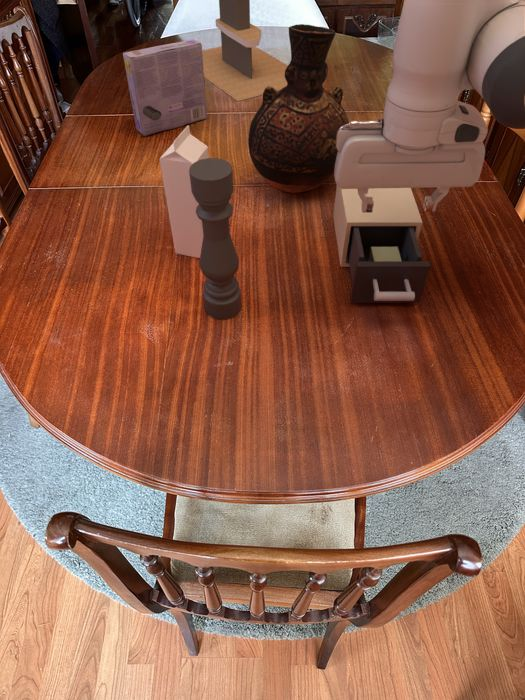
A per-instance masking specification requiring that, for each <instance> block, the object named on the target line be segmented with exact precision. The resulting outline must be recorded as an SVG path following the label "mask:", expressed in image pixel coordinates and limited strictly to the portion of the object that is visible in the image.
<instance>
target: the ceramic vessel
mask: <svg viewBox="0 0 525 700" xmlns="http://www.w3.org/2000/svg"><path fill="white" fill-rule="evenodd" d="M335 36H336V31H335V30H334V29H333V28H327V27H324V26H316V25H311V24H304V23H303V24H302V23H300V24H294V25H290V26H289V27H288V38H289V44H290V61H289V64H287V65H288V66H287V68H286V70H285V79H286V81H287V86H286V87H284V88H282V89H281V90H278V91H277V90H275V89H274V88H273V87H271V86H268V87H266V88H265V89H264V92H263V95H262V101H261V102H262V103H261V106H260V107H259V108H258V109H257V111H256V112H255V114H254V116H253V118H252V119H251V121H250V125H249V130H248V138H247V139H248V141H247V142H248V152H249V156H250V159H251V161H252V164H253V166H254V168H255V170H256V171H257V172H258V174H259V175H260V176H261V177H262V179H263V180H265V182H266V183H268V184H269V185H271V186H272V187H274V188H275V189H278V190H280V191H283V192H286V193H293V194H297V193H305V192H309V191H312V190H315V189H316V188H318V187H319V186H321V185H323V184H325V182H327V181H328V180H329V179H331V178H332V177H333V176H334V169H335V162H336V157H337V153H338V151H337V149H336V145H335V144H336V134H337V132H338V130H339V129H340V127H342V126H343V125H345V124H348V123H349V121H350V120H349V117H348V116H347V113H346V111H345V109H344V108H343V106H342V101H343V96H344V89H343V88H342V87H339V86H338V87H337V86H335V87H333V88H330V89H326V88H324V87H323V84H324V83H325V81H326V79H327V77H328V72H329V71H328V70H329V66H328V63H327V62H326V60H327V58H328V55H329V51H330V48H331V46H332V43H333V41H334V39H335ZM346 128H348V127H346Z"/></svg>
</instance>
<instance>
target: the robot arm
mask: <svg viewBox="0 0 525 700" xmlns="http://www.w3.org/2000/svg"><path fill="white" fill-rule="evenodd" d="M392 52H393V53H392V67H393V71H392V77H391V80H390V83H389V85H388V87H387V90H386V94H385V95H386V96H385V101H384V108H383V113H382V119H369V120H358V119H354V120H353V119H352V120H349V123H348V124H345V125H343V126H342V127H340V129H339V130H338V132H337V134H336V144H335V145H336V149H337V151H338V153H337V157H336V162H335V169H334V174H333V176H334V181H335V184H336V186H337V185H338V186H339V187H340V188H341V189H357V190H358V195H359V196H360V198H361V200H362V205H361V209H362V213H369V212H372V211H373V209H372V208H373V205H374V202H373V198H372V197H367V196H366V194H368V189H369V188H411V189H418V188H419V189H427V188H429V189H431V188H436V189H435V190H434V191H433V193H431V195H425V196H424V202H423V205H422V208H423V209H424V210H423V211H424V212H429V213H430V212H436V210H437V206H438V204H439V203H440V202H441V201H442V200H443V199H444V198H445V197H446V196H447V195H448V194H449V193H450V188H470V187H472V186H473V185H475V184H476V183H477V182H478V181H479V179H480V177H481V174H482V170H483V167H484V163H485V156H486V147H485V144H484V140H485V139H486V137H487V135H488V132H489V128H488V125H487V123H486V121H485V119H484V117H483V115H482V114H481V113H480V111H479V110H478V109H477V108H476V107H475V106H474V105H472V104H470V103H467V102H463V101H460V100H458V99H459V96H460V95H461V93H462V92H463V91H466V90H474V91H475V92H476V93H478V95H479V96H480V97H481V98H482V99H483V102H484V103H485V105H486V106H487V108H488V110H489V111H490V113H491V114H492V116H493V117H494V119H495V120H496V122H497V123H498V124H500V125H501V126H503V127H506V128H509V129H512V130H525V0H404V3H403V6H402V9H401V13H400V16H399V22H398V26H397V30H396V35H395V40H394V46H393V51H392ZM346 127H348V128H346Z"/></svg>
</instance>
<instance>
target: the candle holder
mask: <svg viewBox="0 0 525 700" xmlns="http://www.w3.org/2000/svg"><path fill="white" fill-rule="evenodd" d="M233 170H234V169H233V165H232V164H231V163H230V162H229V161H228V160H226V159H223V158H218V157H209V158H207V159H201V160H199V161H197V162H194V163H193V164H192V165H191V166H190V169H189V175H190V183H191V191H192V194H193V196H194V198H195V199H196V201H197V202H198V204H199V205H198V206H197V207H196V214H197V216H198V218H199V219H200V220H202V227H203V242H202V249H201V255H200V258H199V261H198V265H199V266H198V267H199V269H200V270H201V273H202V275H203V276H204V277H205V278H206V279H205V281H204V282H203V290H202V298H203V306H204V310H205V313H206V315H208V317H210V318H212V319H214V320H215V319H216V320H229V319H232V318H234V317H236V316H237V315H239V313H240V312H241V310H242V292H241V288H240V286H239V285H240V283H239V281H238V279H237V277H236V276H235V275H236V273H237V272H238V270H239V267H240V266H239V265H240V258H239V256H238V253H237V250H236V247H235V245H234V242H233V239H232V236H231V232H230V218H231V217H232V216H233V213H234V212H233V211H234V207H233V205H232V203H230V200H231V199H232V196H233V194H234V171H233Z"/></svg>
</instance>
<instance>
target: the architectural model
mask: <svg viewBox="0 0 525 700" xmlns="http://www.w3.org/2000/svg"><path fill="white" fill-rule="evenodd" d="M218 7H219V9H218V10H219V18H216V19H215V27H216V28H217V29H218V30H220V40H221V45H220V46H217V47H212V48H211V47H210V48H208V49H202V55H203V71H204V79H206V80H207V81H209V82H211V83H212V84H213V85H215V86H216V87H217V88H219V89H220V90H221V91H223V92H224V93H225V94H227V95H229V97H231V98H232V99H234V100H235V101H236V102H240V101H241V102H242V101H244V100H248V99H251V98H255V97H259V96H263V92H264V89H265V88H266V87H268V86H271V87H273V88H274V89H275V90H277V91H280V90H281V89H282V88H284V87H286V86H287V81H286V79H285V70H286V68H287V66H288V65H289V64H286V63H285V62H283V61H281V60H280V59H278V58H277V57H274V56H273V55H271V54H269V53H268V52H266V51H265V50H262V49H261V48H259V47H258V46H260V42H261V38H262V29H260V28H259V27H258V26H256V25H253V24H252V23H251V2H250V0H218Z"/></svg>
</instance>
